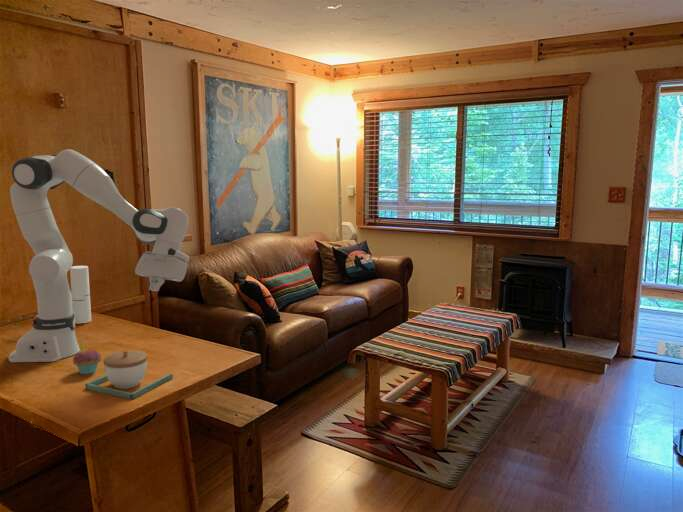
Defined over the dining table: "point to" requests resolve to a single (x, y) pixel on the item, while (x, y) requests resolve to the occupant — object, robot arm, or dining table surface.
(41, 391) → the dining table surface
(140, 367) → the lidded bowl
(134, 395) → the teal u-shaped frame
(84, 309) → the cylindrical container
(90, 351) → the cupcake
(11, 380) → the dining table surface
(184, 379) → the dining table surface
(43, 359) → the robot arm
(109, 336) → the dining table surface
